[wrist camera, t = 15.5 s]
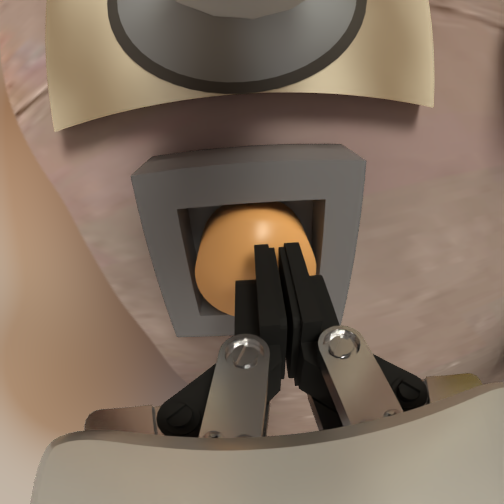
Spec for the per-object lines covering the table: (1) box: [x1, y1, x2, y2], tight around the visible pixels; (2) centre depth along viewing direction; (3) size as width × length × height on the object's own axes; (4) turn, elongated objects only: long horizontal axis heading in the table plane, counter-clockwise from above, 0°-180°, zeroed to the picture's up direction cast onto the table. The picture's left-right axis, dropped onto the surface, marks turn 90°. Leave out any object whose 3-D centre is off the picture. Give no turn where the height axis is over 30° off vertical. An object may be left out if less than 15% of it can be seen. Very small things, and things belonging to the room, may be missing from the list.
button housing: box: [131, 144, 366, 337], centre depth 14 cm, size 9×9×3 cm
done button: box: [195, 201, 316, 316], centre depth 13 cm, size 5×5×2 cm
